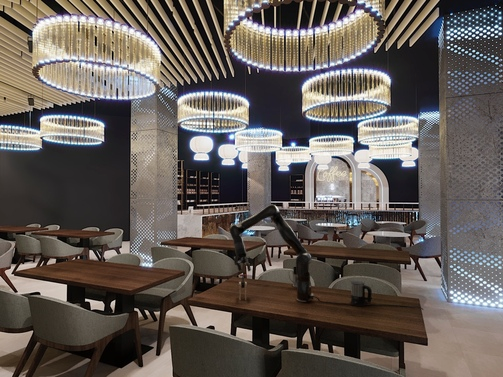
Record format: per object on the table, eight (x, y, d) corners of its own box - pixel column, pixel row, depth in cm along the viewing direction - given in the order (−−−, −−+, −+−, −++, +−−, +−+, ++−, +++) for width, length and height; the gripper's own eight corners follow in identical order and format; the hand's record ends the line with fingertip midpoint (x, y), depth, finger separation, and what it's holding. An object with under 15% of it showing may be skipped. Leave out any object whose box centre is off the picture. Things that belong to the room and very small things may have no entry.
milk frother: (350, 305, 223) (350, 283, 224) (351, 298, 238) (351, 277, 238) (372, 307, 218) (372, 285, 219) (372, 300, 233) (372, 279, 234)
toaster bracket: (237, 298, 235) (237, 280, 236) (248, 298, 236) (248, 280, 236) (236, 303, 225) (237, 284, 226) (248, 303, 226) (248, 284, 226)
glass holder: (305, 286, 269) (305, 267, 270) (292, 288, 261) (292, 269, 262) (298, 283, 277) (298, 265, 277) (285, 286, 269) (285, 267, 269)
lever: (239, 276, 241) (239, 273, 240) (246, 276, 241) (246, 273, 240) (239, 287, 230) (239, 285, 229) (246, 287, 230) (246, 285, 229)
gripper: (235, 246, 235) (240, 268, 227) (250, 248, 244) (255, 269, 236) (229, 251, 240) (233, 272, 231) (244, 252, 249) (249, 273, 240)
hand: (244, 270), depth 233 cm, fingers open, 8 cm apart
